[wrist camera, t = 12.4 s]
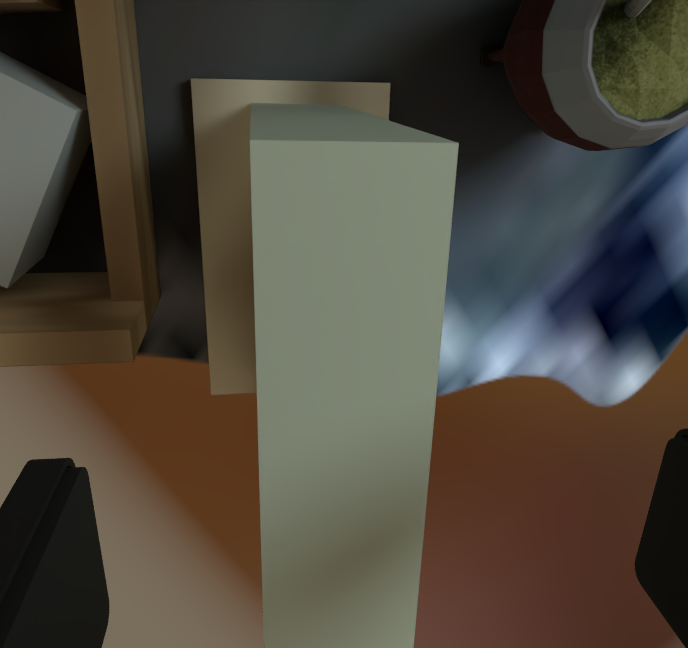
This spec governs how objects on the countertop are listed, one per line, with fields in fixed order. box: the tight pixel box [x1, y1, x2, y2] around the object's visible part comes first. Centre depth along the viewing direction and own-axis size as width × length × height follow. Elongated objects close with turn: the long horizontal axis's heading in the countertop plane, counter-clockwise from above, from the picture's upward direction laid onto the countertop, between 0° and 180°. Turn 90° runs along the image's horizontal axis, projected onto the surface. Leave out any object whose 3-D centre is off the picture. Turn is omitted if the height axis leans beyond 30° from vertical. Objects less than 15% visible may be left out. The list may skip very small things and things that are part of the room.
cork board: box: [191, 78, 390, 395], centre depth 28 cm, size 8×14×1 cm, turn 179°
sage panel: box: [250, 103, 459, 648], centre depth 20 cm, size 4×12×16 cm, turn 179°
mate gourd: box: [480, 0, 688, 151], centre depth 20 cm, size 8×8×15 cm
